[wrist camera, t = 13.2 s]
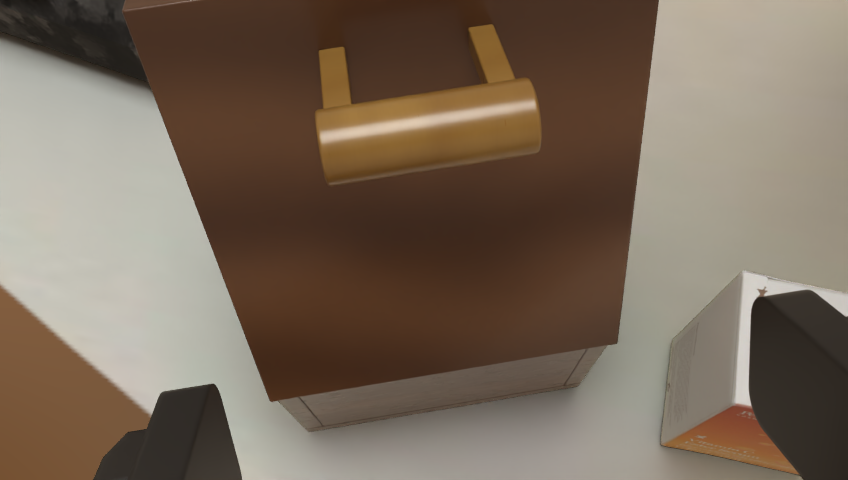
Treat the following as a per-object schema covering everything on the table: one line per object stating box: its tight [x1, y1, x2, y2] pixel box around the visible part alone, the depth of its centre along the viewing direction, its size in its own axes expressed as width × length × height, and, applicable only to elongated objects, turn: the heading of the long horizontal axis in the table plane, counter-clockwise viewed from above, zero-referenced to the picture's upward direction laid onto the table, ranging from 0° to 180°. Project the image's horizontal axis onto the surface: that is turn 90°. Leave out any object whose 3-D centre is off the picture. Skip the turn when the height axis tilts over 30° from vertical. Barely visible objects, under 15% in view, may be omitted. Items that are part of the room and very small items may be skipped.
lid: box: [122, 0, 659, 402], centre depth 24 cm, size 17×14×6 cm
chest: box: [278, 346, 606, 432], centre depth 39 cm, size 16×14×9 cm
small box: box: [661, 270, 848, 475], centre depth 35 cm, size 8×6×10 cm
